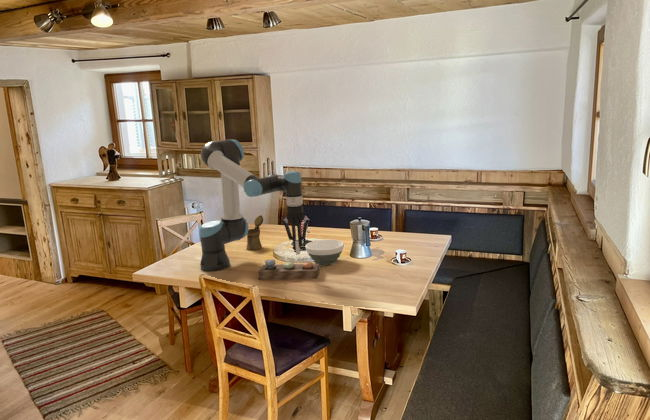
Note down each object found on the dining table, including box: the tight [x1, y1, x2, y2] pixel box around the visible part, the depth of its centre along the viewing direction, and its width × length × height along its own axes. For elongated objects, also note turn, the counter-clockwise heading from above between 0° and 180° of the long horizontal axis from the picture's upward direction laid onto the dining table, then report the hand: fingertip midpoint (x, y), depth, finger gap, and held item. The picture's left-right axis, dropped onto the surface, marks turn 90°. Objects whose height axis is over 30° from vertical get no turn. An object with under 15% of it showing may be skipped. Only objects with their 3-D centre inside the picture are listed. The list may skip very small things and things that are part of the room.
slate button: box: [264, 259, 276, 270], centre depth 224 cm, size 5×5×4 cm
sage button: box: [283, 261, 295, 269], centre depth 223 cm, size 5×5×4 cm
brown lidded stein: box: [246, 215, 264, 251], centre depth 274 cm, size 9×14×18 cm, turn 148°
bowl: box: [305, 238, 345, 267], centre depth 239 cm, size 20×20×10 cm
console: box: [257, 263, 321, 281], centre depth 223 cm, size 28×10×4 cm, turn 83°
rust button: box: [302, 261, 314, 269], centre depth 222 cm, size 5×5×4 cm
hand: (298, 253), depth 221 cm, fingers closed
